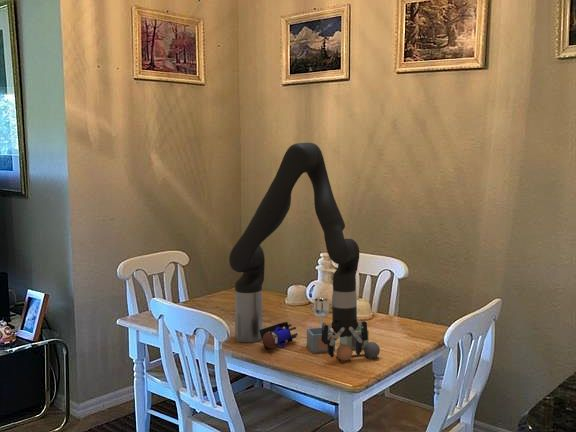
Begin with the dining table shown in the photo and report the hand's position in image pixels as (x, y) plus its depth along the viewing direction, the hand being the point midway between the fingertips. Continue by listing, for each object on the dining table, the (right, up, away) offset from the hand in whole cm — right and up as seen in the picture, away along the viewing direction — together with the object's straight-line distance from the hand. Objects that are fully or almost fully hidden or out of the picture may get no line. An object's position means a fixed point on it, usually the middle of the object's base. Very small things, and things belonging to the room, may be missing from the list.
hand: (344, 355), depth 187 cm
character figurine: (-21, -1, +14) cm, 25 cm away
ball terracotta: (0, +1, 0) cm, 1 cm away
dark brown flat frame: (+4, -2, +1) cm, 5 cm away
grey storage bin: (-7, -1, +12) cm, 13 cm away
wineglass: (-6, +1, +29) cm, 29 cm away
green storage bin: (+4, 0, +14) cm, 15 cm away
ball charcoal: (+9, +1, +2) cm, 9 cm away
